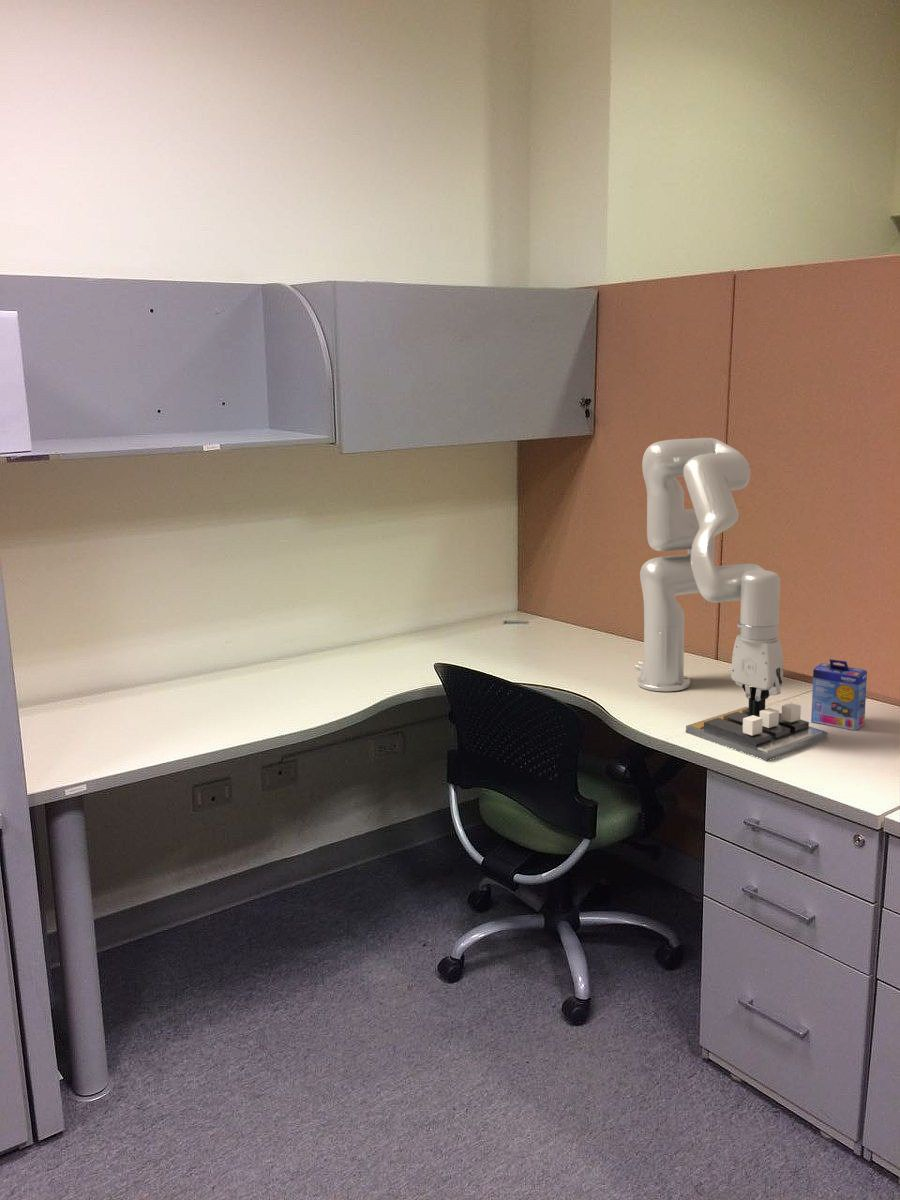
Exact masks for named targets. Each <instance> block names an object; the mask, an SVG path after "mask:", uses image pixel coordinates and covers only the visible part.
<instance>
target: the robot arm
mask: <svg viewBox="0 0 900 1200" xmlns="http://www.w3.org/2000/svg"><path fill="white" fill-rule="evenodd" d="M641 467H642V475H643V479H644V484H645V488H646V496H647V497H646V498H647V499H646V511H647V512H646V537H647V543H648V545H649V547H650V548H651V549H652V550H654V551H655V552H656V551H657V552H675V551H676V552H677V551H684V550H686V551H687V553H686V554H678V555H677V554H676V555H675V554H674V555H666V556H658V557H654V558H650V559H648V560H646V561H645V562H644V563H643V564H642V566H641V568H640V570H639V571H640V572H639V578H640V580H639V581H640V586H641V591H642V598H643V623H644V626H643V629H644V630H643V635H644V637H643V651H644V652H643V660H642V659H641V660H639V661H638V662H637V663H636V664H635V665H634V670H636V671H640V676H638V677H637V679H636V681H637V685H638V686H639V687H641V688H643V689H645V690H648V691H652V692H653V691H654V692H664V693H665V692H678V691H682V690H685V689H687V688H689V687H690V685H691V680H690V678H689V677H688V676H686V675H684V672H685V671H684V670H685V669H684V667H685V664H684V663H685V613H684V609H683V608H682V606H681V605H680V603H679V601H677V599H676V597H677V596H682V595H689V594H700V595H701V597H703V599H704V600H706V601H707V602H709V603H713V604H715V603H717V604H718V603H725V602H726V603H727V602H735V601H740V608H739V609H740V610H739V611H740V615H739V616H740V619H739V620H740V621H737V623H736V626H737V628H739V634H737V635H736V637H735V641H734V645H733V651H732V657H731V669H730V672H731V673H730V677H731V680H732V681H734V683H735V684H736V685H737V686H739V687H740V688H742V690H743V691H744V692H745V697H746V698H747V699H748V710H749V713H748V716H752V715H754V716H757V717H760V711H761V710H765V709H766V700H767V699H769V697H770V696H777V695H778V696H779V695H780V694H781V693H782V692H781V688H780V687H781V686H782V685H783V681H784V659H783V657H784V656H783V655H784V654H783V648H782V643H781V639H779V625H780V623H779V621H780V620H779V619H780V597H781V595H780V593H781V578H780V576H779V574H778V573H777V572H774V571H772V570H765V568H763V567H762V566H760V565H758V564H755V563H749V562H748V563H739V564H738V563H737V564H728V565H717V566H716V565H715V540H716V539H715V537H716V536H718V535H719V534H722V533H723V532H724V531H727V530H728V529H730V528H731V527H733V526H734V525H735V524H736V523H737V521H738V520H739V518H740V517H739V516H740V515H739V510H738V507H737V505H736V502H735V500H734V496H733V494H732V491H739V490H743V489H745V488H746V487H747V485H748V484H749V483H750V479H751V468H750V464H749V462H748V460H747V459H746V457H745V456H744V455H743V454H742V453H741V452H740V451H739V450H737V449H736V448H734V447H732V446H730V445H728V444H727V443H725V442H724V441H721V440H720V439H717V438H714V437H695V438H675V439H674V438H673V439H664V440H659V441H656V442H654V443H652V444H650V445H649V446H648V447H647V448H646V449H645V451H644V454H643V456H642V463H641ZM679 477H683V479H684V481H685V485H686V489H687V491H688V494H689V497H690V501H691V504H692V508H689V509H688V508H686V509H685V492H684V488H683V486H682V484H681V483H680V481H679V480H678V479H677V478H679Z"/></svg>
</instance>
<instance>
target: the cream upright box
mask: <svg viewBox="0 0 900 1200" xmlns="http://www.w3.org/2000/svg"><path fill="white" fill-rule="evenodd" d="M762 720H763V718H760V717H757V716H754V715H752V716H749V717H746V718H743V733H746V734H749V735H752V736H753V735H756V734H759V733H762Z"/></svg>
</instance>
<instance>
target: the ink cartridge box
mask: <svg viewBox="0 0 900 1200" xmlns="http://www.w3.org/2000/svg"><path fill="white" fill-rule="evenodd" d="M834 663H835V664H834ZM840 664H842V665H840ZM812 672H813V673H812V690H811V691H812V695H811V697H812V698H811V715H810V717H811V719H810V722H811V723H814V722H815V723H816V724H819V725H824V724H825V725H826V726H829V727H830V726H831V727H835V728H840V729H845V730H848V731H849V730H851V731H858V730H859V729H860V728H861V727H863V726H864V725H865V724H866V723H865V719H866V718H865V717H866V700H867V699H866V697H867V696H866V695H867V682H868V681H867V680H868V679H867V677H868V671H867V669H863V668H857V667H856V668H855V667H850V666H849V665H848V663H847V661H845V660H837V659H831V658H830V659H829V663H819V664H818V665H817V666H816V667H814V668H813V670H812ZM815 723H814V724H815ZM825 725H824V726H825Z"/></svg>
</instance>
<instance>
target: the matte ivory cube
mask: <svg viewBox="0 0 900 1200" xmlns="http://www.w3.org/2000/svg"><path fill="white" fill-rule="evenodd" d="M779 713H780V710H777V709H774V708H771V707H769V708H765V710H761V711H760V718H763V720H762V726H764V727H767V728H770V727H773V726H776V725H778V722H779Z"/></svg>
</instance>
